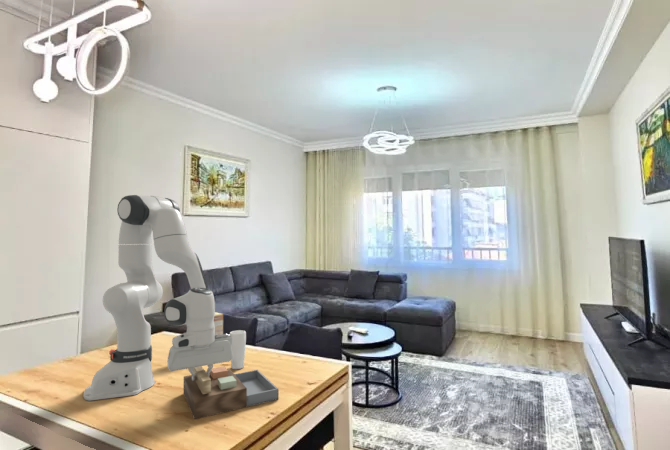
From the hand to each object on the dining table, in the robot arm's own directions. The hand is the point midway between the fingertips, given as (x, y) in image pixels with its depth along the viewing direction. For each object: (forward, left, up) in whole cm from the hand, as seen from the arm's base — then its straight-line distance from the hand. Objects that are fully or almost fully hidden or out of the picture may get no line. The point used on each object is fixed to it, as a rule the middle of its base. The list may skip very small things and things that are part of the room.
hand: (200, 379), depth 123 cm
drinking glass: (+20, +28, -8) cm, 36 cm away
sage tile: (+7, -5, -2) cm, 9 cm away
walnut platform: (+4, 0, -8) cm, 9 cm away
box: (+18, 0, -8) cm, 19 cm away
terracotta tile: (+7, +6, -2) cm, 9 cm away
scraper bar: (0, 0, -1) cm, 1 cm away
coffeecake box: (+11, +50, -8) cm, 52 cm away
